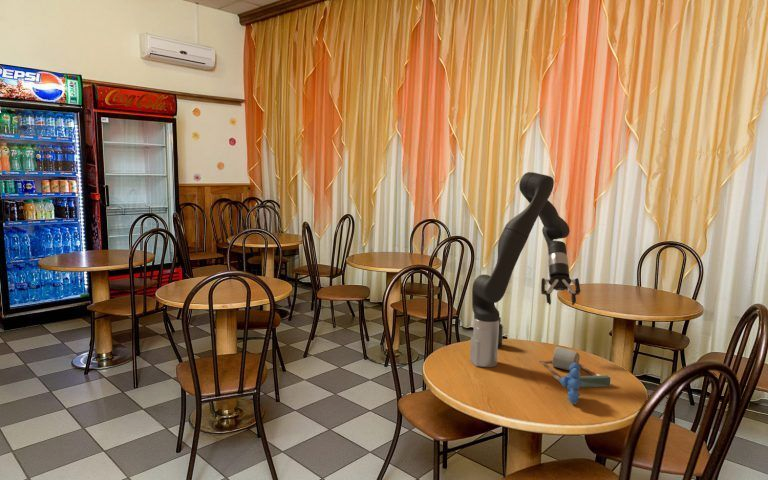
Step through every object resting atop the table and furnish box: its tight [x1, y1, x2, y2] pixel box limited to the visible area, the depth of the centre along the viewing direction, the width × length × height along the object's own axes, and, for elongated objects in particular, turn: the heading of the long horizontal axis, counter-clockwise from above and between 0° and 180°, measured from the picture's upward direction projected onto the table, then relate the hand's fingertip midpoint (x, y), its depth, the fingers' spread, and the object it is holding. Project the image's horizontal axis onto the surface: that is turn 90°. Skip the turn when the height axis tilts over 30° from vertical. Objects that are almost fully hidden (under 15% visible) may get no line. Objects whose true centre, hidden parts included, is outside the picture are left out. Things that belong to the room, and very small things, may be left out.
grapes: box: [558, 362, 582, 405], centre depth 153 cm, size 12×7×12 cm, turn 160°
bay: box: [539, 360, 613, 388], centre depth 175 cm, size 23×17×3 cm
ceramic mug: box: [551, 346, 580, 372], centre depth 181 cm, size 11×8×8 cm
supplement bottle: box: [498, 316, 504, 349], centre depth 203 cm, size 7×7×12 cm
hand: (561, 304), depth 188 cm, fingers open, 8 cm apart
